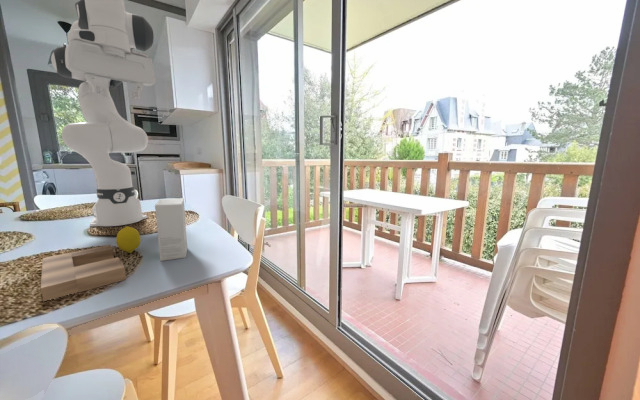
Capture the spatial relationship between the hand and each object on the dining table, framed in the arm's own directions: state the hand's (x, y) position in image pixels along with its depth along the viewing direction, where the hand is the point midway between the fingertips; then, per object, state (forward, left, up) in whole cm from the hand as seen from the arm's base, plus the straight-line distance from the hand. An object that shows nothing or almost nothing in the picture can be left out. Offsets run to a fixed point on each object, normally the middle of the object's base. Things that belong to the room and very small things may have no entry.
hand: (117, 96), depth 75 cm
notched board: (+18, -14, -45) cm, 50 cm away
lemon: (+10, -3, -45) cm, 46 cm away
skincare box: (+20, +5, -45) cm, 49 cm away
